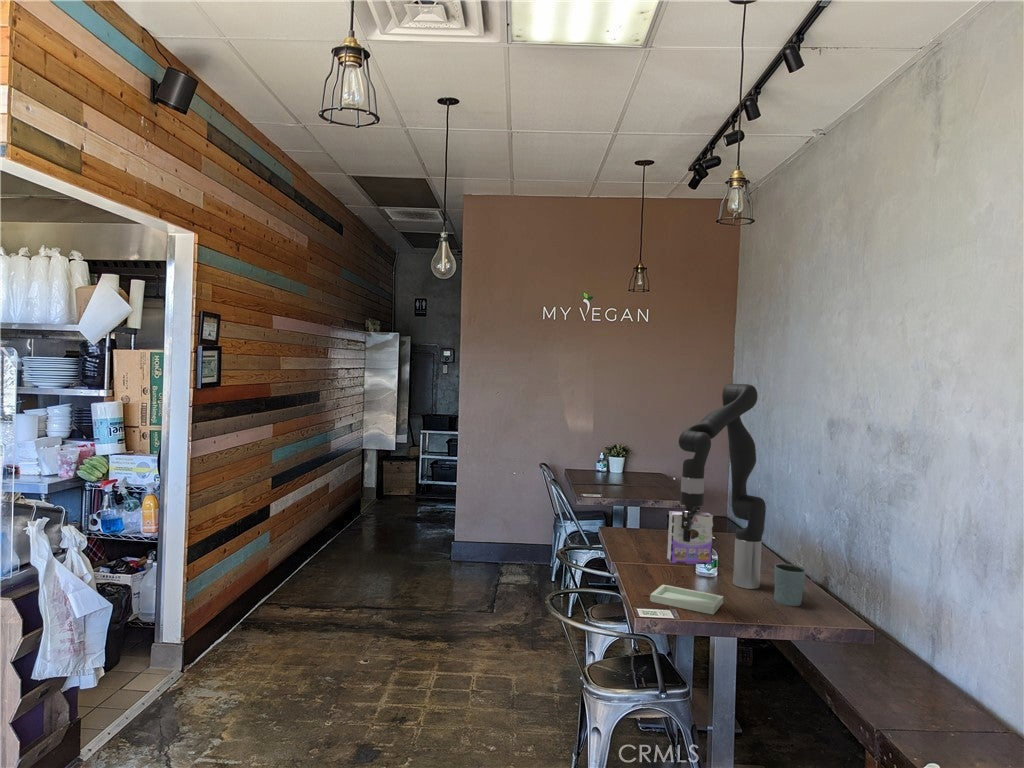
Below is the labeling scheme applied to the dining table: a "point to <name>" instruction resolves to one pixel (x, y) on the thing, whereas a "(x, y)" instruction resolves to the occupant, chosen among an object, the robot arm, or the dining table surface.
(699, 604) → the tray
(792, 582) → the green cup
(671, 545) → the candy box
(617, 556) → the dining table surface
